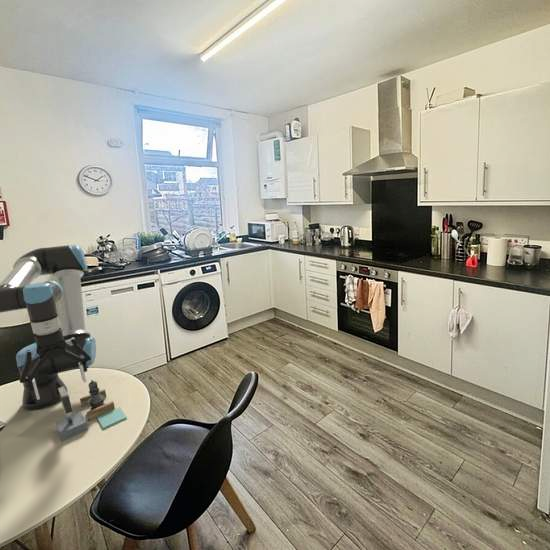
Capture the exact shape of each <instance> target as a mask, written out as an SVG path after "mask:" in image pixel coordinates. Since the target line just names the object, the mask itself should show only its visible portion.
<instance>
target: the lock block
mask: <svg viewBox="0 0 550 550" xmlns="http://www.w3.org/2000/svg"><path fill="white" fill-rule="evenodd" d="M72 416H73V421H72V422H67V418H66V417H65V418H61V419H59V420H57V421H55V426H56V428H57V429H56V430H57V432H58V434H59V437H60V440H61V442H63V441H65V440H68V439H70V438H72V437H73V436H74V437H75V436H77V435H79V434H80V433H83V432H85V431H87V430H88V429H89V428H88V425H87V420H86V419H85V416H84V415H83V413H82V411H78V412H76V413H74V414H72Z"/></svg>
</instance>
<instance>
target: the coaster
mask: <svg viewBox="0 0 550 550" xmlns="http://www.w3.org/2000/svg"><path fill="white" fill-rule="evenodd" d="M127 417H128V416H127V415H126V414H125V412H124V411H123V409H121V407H120V406H119V407H117V408H116V407H115V409H114V410H112V411H110V412H107V413H105V414H103V415H100V416H98V417H96V419H97V421H98V423H99V425H100V426H101V428H102V430H104V429H107V428H110V427H112V426H113V425H116V424H118V423H120V422H122V421H124V420H127V419H128V418H127Z"/></svg>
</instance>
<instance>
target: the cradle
mask: <svg viewBox="0 0 550 550" xmlns="http://www.w3.org/2000/svg"><path fill="white" fill-rule="evenodd" d="M99 394H100V395H104V396H105V398H106V397H108V396H107V393H106V390H105V388H103V389H101V390H100V389H99ZM90 398H91V395H90V394H88V395H86V396H83V397H81V398H79V402H80V406H81V407H82V408H83V407H85V406H88V405H89V404H88V400H89V399H90ZM114 409H116V407H115V403H114V401H113V400H112V401H109V402H107V403H105V405H102V406H100V407H98V408H95V409H93V410H89V411H86V414H87V419H88V421H91V420H93V419H94V420H95V419H97V417H98V416H100V415H103V414H105V413H107V412H110V411H112V410H114Z"/></svg>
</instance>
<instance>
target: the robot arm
mask: <svg viewBox="0 0 550 550" xmlns="http://www.w3.org/2000/svg"><path fill="white" fill-rule="evenodd" d="M12 266H13V267H12V268H13V269H12V270H11V271H10V272H9V273H8V275H7V276H5V278H4V279H3V280H2V281H1V282H0V313H6V312H13V311H17V310H18V311H19V310H26V311H27V313H28V318H29V321H30V325H31V330H32V333H33V334H34V336H33V337H34V343H31V344H29V345H27V346H25V347H23V348H22V349H21V350H19V351H18V352H17V353H16V356H15V359H16V366H17V369H18V372H19V378H18V379H19V383H20V384H23V385H22V386H23V392H22V394H23V395H22V400H21V402H22V407H23V408H24V410H27V411H38V410H42V409H46V408H49V407H51V406H53V405H57V404H58V403H59V402H61V398H60V394H59V390H58V388H60V387H63V386H64V387H65V390H66V392H67V393H69V392H68V387H67V385H66V384H65V383H64V382H63V380H62V379H61V377H60V376H59V374H62V373H65V372H70V371H73V370H79V372H80V377H81V379H82V382H83V383H87V379H86V374H85V373H86V372H88V367H91V366H92V365H93V364H94V363H95V360H96V355H97V354H96V353H97V352H96V351H97V344H96V339H95V337H94V336H91V333H90V332H88V331H87V330H86V329H87V328H86V321H85V312H84V311H85V310H84V302H83V292H82V283H81V282H82V280H81V279H82V277H84V274H85V272H84V271H86V270H88V262H87V260H86V257H85V253H84V251H83V249H82V247H81V246H80V245H77V244H67V245H60V246H51V247H41V248H40V247H39V248H36V249H33V250H31V251H29V252H26V253H24V254H23V255H22V256H20V257H19V258H18V259H17V260H15V262H14V263H13V265H12ZM46 275H52V277H53V278H54V279H55V280H57V281H55V280H46V281H43V282H36V283H32V282H33V281H34V279H37V278H38V277H40V276H46ZM57 303H58V304H59V313H58V309H57ZM59 317H60V318H59Z"/></svg>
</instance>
